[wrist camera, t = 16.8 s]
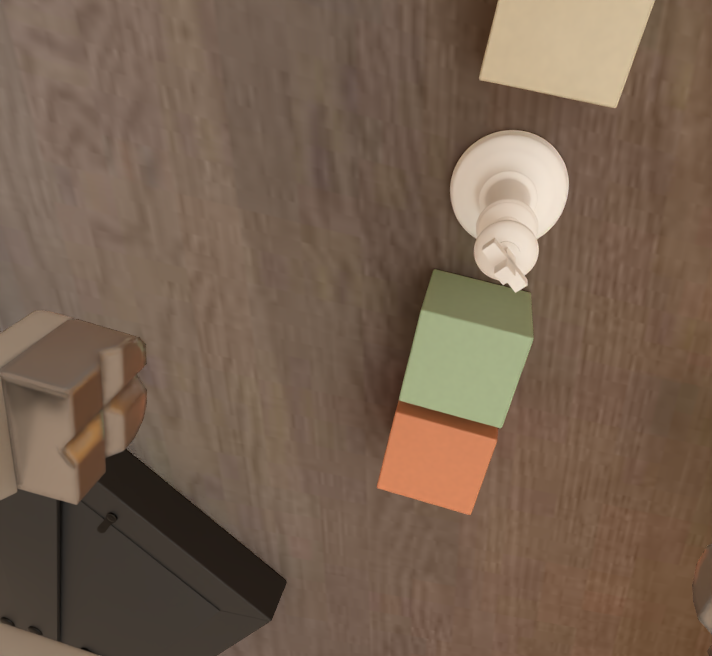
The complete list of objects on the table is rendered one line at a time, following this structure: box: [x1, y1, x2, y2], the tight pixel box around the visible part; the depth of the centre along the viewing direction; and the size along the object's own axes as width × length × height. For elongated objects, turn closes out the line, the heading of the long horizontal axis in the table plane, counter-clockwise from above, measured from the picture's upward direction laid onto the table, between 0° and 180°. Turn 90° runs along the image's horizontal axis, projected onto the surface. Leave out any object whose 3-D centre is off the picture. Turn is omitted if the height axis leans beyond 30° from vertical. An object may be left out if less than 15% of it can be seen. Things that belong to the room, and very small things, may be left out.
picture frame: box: [0, 450, 287, 656], centre depth 44 cm, size 23×4×28 cm
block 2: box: [377, 400, 498, 515], centre depth 31 cm, size 5×5×5 cm
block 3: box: [479, 0, 655, 108], centre depth 22 cm, size 5×5×5 cm
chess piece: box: [450, 130, 569, 293], centre depth 23 cm, size 5×5×10 cm
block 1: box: [399, 269, 534, 428], centre depth 28 cm, size 5×5×5 cm
